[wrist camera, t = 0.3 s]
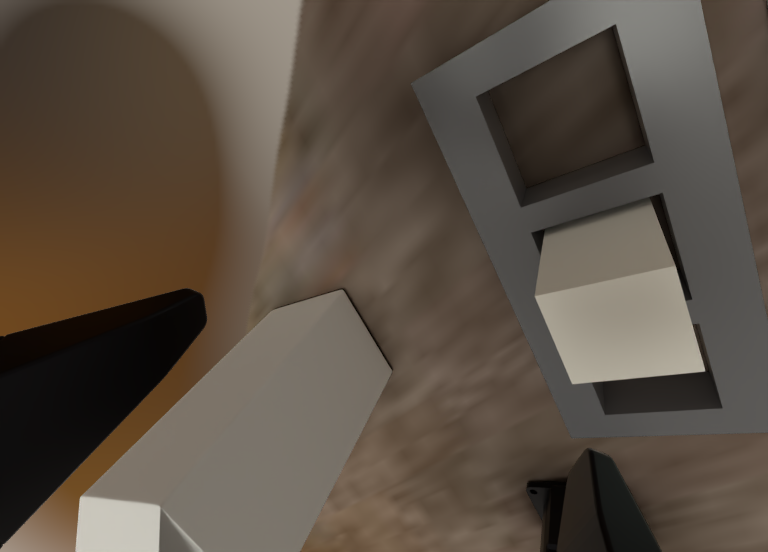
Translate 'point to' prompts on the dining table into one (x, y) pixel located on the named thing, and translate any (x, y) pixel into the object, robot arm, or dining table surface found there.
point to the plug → (615, 297)
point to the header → (615, 188)
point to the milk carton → (246, 442)
